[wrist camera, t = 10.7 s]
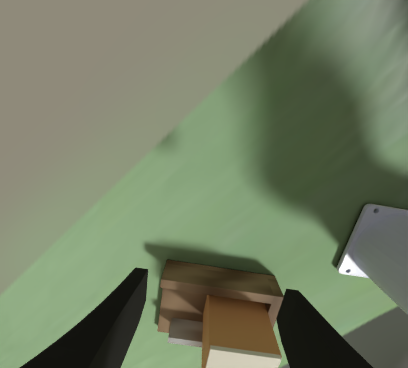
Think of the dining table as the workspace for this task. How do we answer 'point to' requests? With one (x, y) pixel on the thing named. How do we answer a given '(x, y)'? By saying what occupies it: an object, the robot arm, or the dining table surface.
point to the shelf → (197, 293)
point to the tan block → (238, 335)
